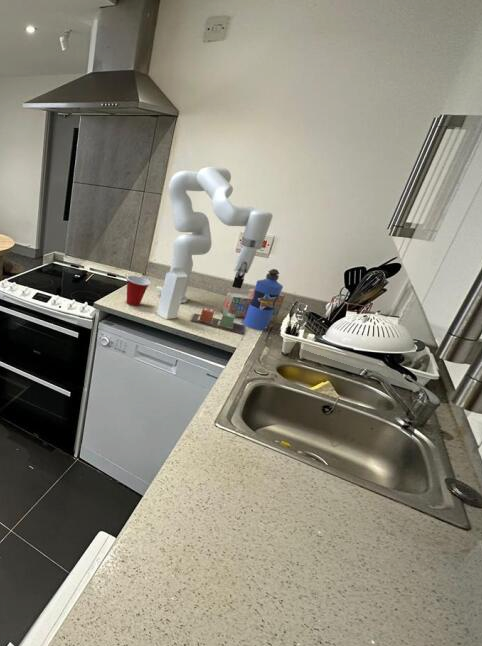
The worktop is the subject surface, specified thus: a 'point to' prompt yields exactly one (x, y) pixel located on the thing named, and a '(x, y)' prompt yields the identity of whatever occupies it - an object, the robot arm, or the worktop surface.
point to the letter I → (227, 319)
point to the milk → (172, 293)
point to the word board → (216, 323)
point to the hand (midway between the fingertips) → (237, 284)
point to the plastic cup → (136, 289)
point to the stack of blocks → (247, 304)
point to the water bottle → (263, 301)
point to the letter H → (207, 314)
